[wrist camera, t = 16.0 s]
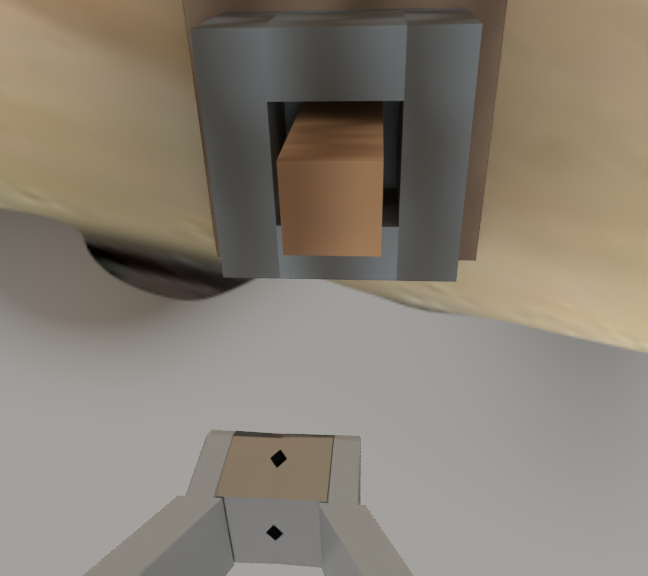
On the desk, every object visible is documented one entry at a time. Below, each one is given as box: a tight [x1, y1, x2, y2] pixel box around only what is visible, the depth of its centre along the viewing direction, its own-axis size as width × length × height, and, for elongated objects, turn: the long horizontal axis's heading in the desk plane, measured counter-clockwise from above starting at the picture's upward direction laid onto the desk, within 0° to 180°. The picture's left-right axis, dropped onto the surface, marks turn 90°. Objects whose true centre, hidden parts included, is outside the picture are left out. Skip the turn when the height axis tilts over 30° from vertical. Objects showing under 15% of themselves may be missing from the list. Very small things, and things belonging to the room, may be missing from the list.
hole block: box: [183, 0, 507, 282], centre depth 30 cm, size 16×16×7 cm
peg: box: [277, 101, 384, 257], centre depth 27 cm, size 4×4×10 cm
